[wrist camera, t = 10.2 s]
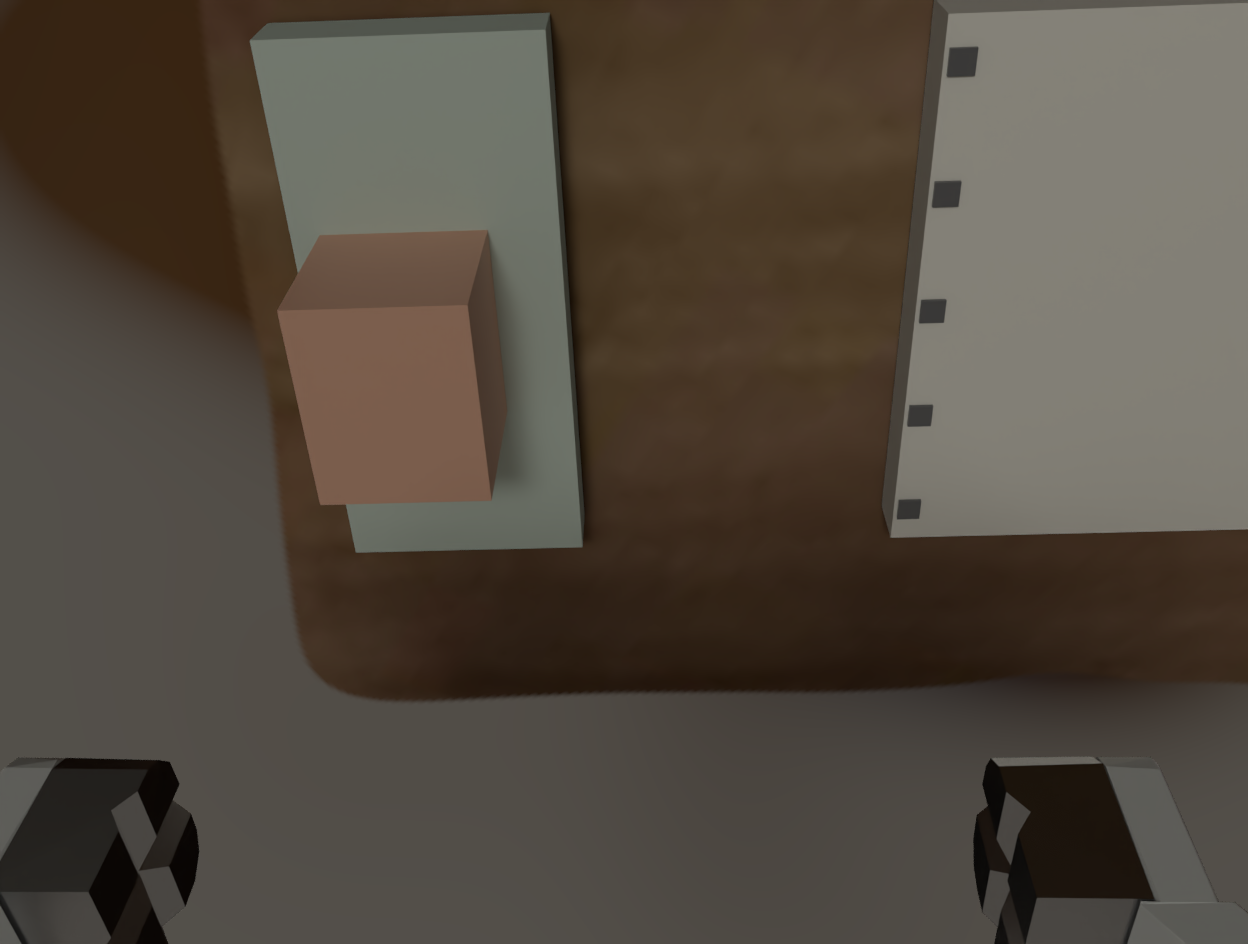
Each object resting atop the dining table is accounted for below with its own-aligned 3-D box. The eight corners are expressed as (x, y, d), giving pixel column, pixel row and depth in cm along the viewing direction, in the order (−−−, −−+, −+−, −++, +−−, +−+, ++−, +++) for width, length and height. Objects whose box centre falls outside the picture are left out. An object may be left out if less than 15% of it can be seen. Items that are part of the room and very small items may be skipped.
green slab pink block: (549, 12, 27) (531, 83, 22) (584, 515, 35) (576, 644, 30) (267, 23, 27) (191, 95, 22) (366, 520, 35) (324, 649, 30)
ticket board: (1574, -26, 26) (1624, -10, 25) (1373, 494, 34) (1403, 528, 33) (934, -3, 27) (949, 14, 25) (881, 506, 34) (891, 539, 33)
